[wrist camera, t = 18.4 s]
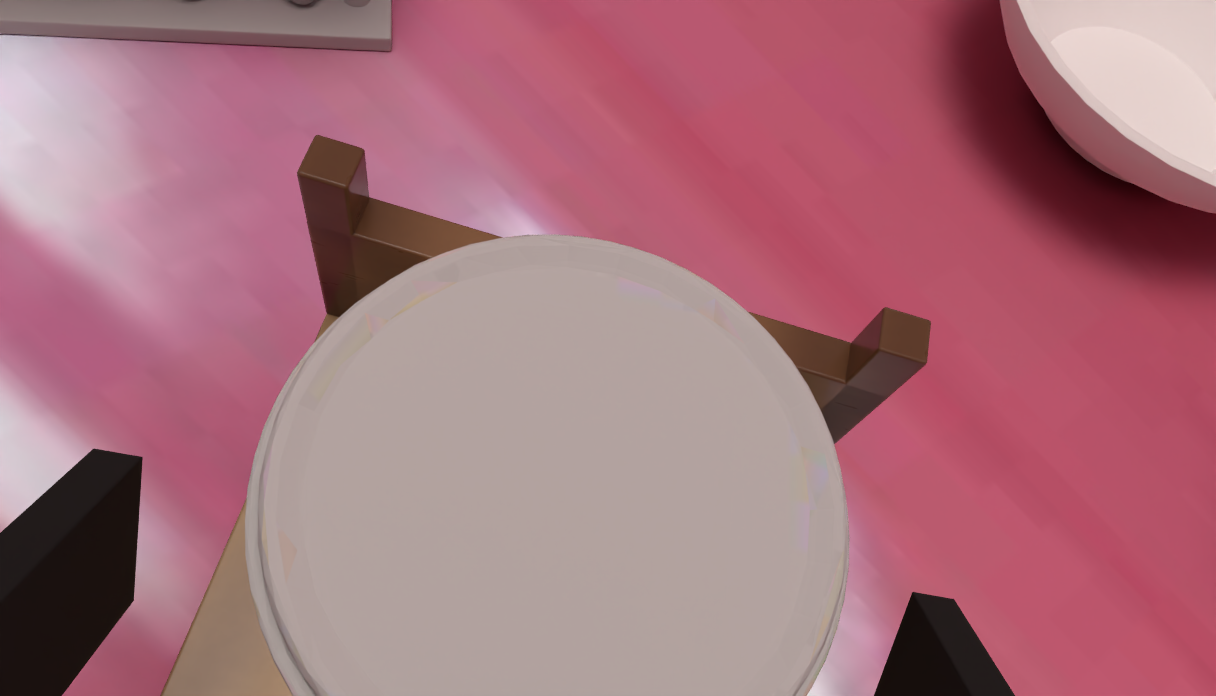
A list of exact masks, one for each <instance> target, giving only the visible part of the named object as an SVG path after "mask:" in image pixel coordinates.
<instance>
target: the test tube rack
mask: <svg viewBox="0 0 1216 696" xmlns="http://www.w3.org/2000/svg"><path fill="white" fill-rule="evenodd" d="M0 34H22V35H44V36H66V37H88V38H110V39H132V40H154V41H176V42H198V43H220V44H242V45H264V46H286V47H308V48H329V49H350V50H372V51H391V49H392V0H0Z"/></svg>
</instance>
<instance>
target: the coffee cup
mask: <svg viewBox="0 0 1216 696" xmlns="http://www.w3.org/2000/svg"><path fill="white" fill-rule="evenodd" d="M245 555H246V562H247V569H248V576H249V583H250V590H251V595H252V599H253V602H254V606H255V610H256V613H257V617H258V621H259V624H260V628H261V631H262V633H263V636H264V638H265V641H266V643H267V646H268V648H269V651H270V653H271V656H272V658H273V661H274V663H275V665H276V666H277V668H278V670H279V672H280V674H281V675H282V677H283V679H284V681H285V683H286V684H287V686H288V688H289V690H290V692H291V694H292V695H293V696H807V694H808V692H809V691H810V689H811V688H812V686H813V684H814V682H815V680H816V678H817V676H818V674H819V672H820V670H821V668H822V666H823V664H824V662H825V660H826V657H827V655H828V652H829V649H830V646H831V644H832V641H833V638H834V635H835V633H836V630H837V626H838V622H839V618H840V614H841V610H842V606H843V602H844V597H845V590H846V583H847V575H848V566H849V526H848V512H847V504H846V495H845V490H844V485H843V480H842V475H841V470H840V465H839V461H838V458H837V454H836V450H835V446H834V442H833V439H832V437H831V434H830V432H829V429H828V427H827V424H826V422H825V420H824V417H823V415H822V412H821V410H820V408H819V406H818V404H817V402H816V400H815V398H814V396H813V394H812V392H811V390H810V388H809V386H808V385H807V383H806V382H805V380H804V379H803V377H802V375H801V374H800V372H799V371H798V369H797V368H796V366H795V365H794V363H793V361H792V360H791V359H790V358H789V356H788V355H787V354H786V353H785V351H784V350H783V349H782V348H781V346H780V345H779V344H778V343H777V341H776V340H775V339H774V338H773V337H772V336H771V335H770V334H769V333H768V331H767V330H766V329H765V328H764V327H763V326H762V325H761V324H760V323H759V322H758V321H757V320H756V319H755V318H754V317H753V316H752V315H751V314H749V313H748V312H747V311H746V310H745V309H744V308H742V307H741V306H740V305H739V304H738V303H737V302H736V301H734V300H733V299H732V298H730V297H729V296H728V295H726V294H725V293H723V292H722V291H721V290H719V289H718V288H716V287H715V286H714V285H712V284H711V283H709V282H708V281H706V280H704V279H702V278H701V277H699V276H697V275H696V274H694V273H692V272H690V271H689V270H687V269H685V268H683V267H681V266H679V265H676V264H674V263H672V262H670V261H668V260H666V259H664V258H662V257H659V256H656V255H653V254H650V253H648V252H645V251H642V250H639V249H636V248H633V247H629V246H625V245H622V244H618V243H614V242H610V241H605V240H599V239H593V238H587V237H580V236H567V235H523V236H514V237H506V238H498V239H493V240H489V241H484V242H479V243H474V244H470V245H467V246H463V247H460V248H457V249H454V250H451V251H448V252H445V253H443V254H440V255H438V256H435V257H433V258H431V259H428V260H426V261H423V262H421V263H418V264H416V265H414V266H412V267H411V268H409V269H407V270H406V271H404V272H402V273H400V274H399V275H397V276H395V277H394V278H392V279H390V280H389V281H387V282H386V283H384V284H383V285H381V286H379V287H378V288H376V289H375V290H374V291H372V292H371V293H369V294H368V295H366V296H365V297H364V298H362V299H361V300H359V301H358V302H356V303H355V304H354V305H353V306H352V307H351V308H349V309H348V310H347V311H346V312H345V313H344V314H343V315H341V316H340V317H339V318H338V319H337V320H336V321H335V322H333V323H332V324H331V325H330V326H329V328H328V329H327V330H326V331H325V332H324V333H323V334H322V335H321V336H320V337H319V338H318V339H317V340H316V342H315V343H314V344H313V345H312V346H311V347H310V349H309V350H308V351H307V353H306V354H305V355H304V357H303V358H302V359H301V361H300V362H299V363H298V365H297V366H296V367H295V369H294V370H293V372H292V373H291V375H290V377H289V378H288V380H287V382H286V383H285V385H284V387H283V388H282V390H281V392H280V394H279V395H278V397H277V399H276V401H275V404H274V406H273V408H272V410H271V412H270V414H269V417H268V419H267V421H266V423H265V425H264V428H263V431H262V434H261V438H260V441H259V444H258V447H257V450H256V453H255V456H254V461H253V466H252V470H251V475H250V480H249V484H248V490H247V502H246V514H245Z"/></svg>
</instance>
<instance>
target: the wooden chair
mask: <svg viewBox="0 0 1216 696" xmlns="http://www.w3.org/2000/svg"><path fill="white" fill-rule="evenodd" d="M297 176H298V181H299V185H300V190H301V195H302V199H303V204H304V209H305V213H306V218H307V224H308V229H309V234H310V238H311V243H312V247H313V252H314V257H315V261H316V266H317V271H318V275H319V280H320V285H321V289H322V294H323V299H324V303H325V308H326V312H327V314H326V317H325V319H324V321H323V323H322V326H321V328H320V330H319V333H318V335H317V337H316V340H317V339H318V338H319V337H320V336H321V335H322V334H323V333H324V332H325V331H326V330H327V329H328V328H329V326H330V325H331V324H332V323H333V322H335V321H336V320H337V319H338V318H339V317H340V316H341V315H343V314H344V313H345V312H346V311H347V310H348V309H349V308H351V307H352V306H353V305H354V304H355V303H356V302H358V301H359V300H361V299H362V298H364V297H365V296H366V295H368V294H369V293H371V292H372V291H374V290H375V289H376V288H378V287H379V286H381V285H383V284H384V283H386V282H387V281H389V280H390V279H392V278H394V277H395V276H397V275H399V274H400V273H402V272H404V271H406V270H407V269H409V268H411V267H412V266H414V265H416V264H418V263H421V262H423V261H426V260H428V259H431V258H433V257H435V256H438V255H440V254H443V253H445V252H448V251H451V250H454V249H457V248H460V247H463V246H467V245H470V244H474V243H479V242H484V241H489V240H493V239H498V238H502V237H499V236H496V235H492V234H489V233H486V232H482V231H479V230H476V229H472V228H469V227H466V226H463V225H459V224H456V223H453V222H449V221H446V220H443V219H439V218H436V217H433V216H429V215H426V214H423V213H420V212H416V211H413V210H410V209H406V208H403V207H400V206H396V205H393V204H390V203H386V202H383V201H380V200H376V199H373V198H370V197H369V191H368V181H367V171H366V161H365V151H364V149H362V148H360V147H356V146H353V145H350V144H346V143H343V142H340V141H336V140H333V139H330V138H327V137H323V136H320V135H316V136H315V137H314V139H313V141H312V143H311V145H310V147H309V149H308V151H307V153H306V155H305V157H304V159H303V161H302V163H301V165H300V167H299V170H298V172H297ZM748 313H749V314H751V315H752V316H753V317H754V318H755V319H756V320H757V321H758V322H759V323H760V324H761V325H762V326H763V327H764V328H765V329H766V330H767V331H768V333H769V334H770V335H771V336H772V337H773V338H774V339H775V340H776V341H777V343H778V344H779V345H780V346H781V348H782V349H783V350H784V351H785V353H786V354H787V355H788V356H789V358H790V359H791V360H792V361H793V363H794V365H795V366H796V368H797V369H798V371H799V372H800V374H801V375H802V377H803V379H804V380H805V382H806V383H807V385H808V386H809V388H810V390H811V392H812V394H813V396H814V398H815V400H816V402H817V404H818V406H819V408H820V410H821V412H822V415H823V417H824V420H825V422H826V424H827V427H828V429H829V432H830V434H831V437H832V439H833V442H834V444H835V443H836V442H837V441H839V440H840V439H841V438H842V437H843V436H844V435H846V434H847V433H848V432H849V431H850V430H851V429H852V428H854V427H855V426H856V425H857V424H858V423H859V422H860V421H862V420H863V419H864V418H865V417H866V416H867V415H868V414H870V413H871V412H872V411H873V410H874V409H875V408H876V407H878V406H879V405H880V404H881V403H882V402H883V401H884V400H886V399H887V398H888V397H889V396H890V395H891V394H892V393H894V392H895V391H896V390H897V389H898V388H899V387H900V386H902V385H903V384H904V383H905V382H906V381H907V380H908V379H910V378H911V377H912V376H913V375H914V374H915V373H917V372H918V371H919V370H920V369H921V368H922V367H923V366H925V365H926V363H927V356H928V346H929V336H930V326H931V322H930V321H929V320H926V319H923V318H920V317H916V316H913V315H910V314H907V313H903V312H900V311H897V310H893V309H890V308H887V307H885V308H883V309H882V310H881V311H880V312H879V314H878V315H877V316H876V317H875V318H874V319H873V320H872V321H871V322H870V323H869V324H868V325H867V326H866V328H865V329H864V330H863V331H862V332H861V333H860V334H859V335H858V336H857V337H856V338H855V339H854V340H853V342H852V343H850V342H847V341H843V340H840V339H837V338H833V337H830V336H827V335H823V334H820V333H817V332H813V331H810V330H807V329H804V328H800V327H797V326H794V325H790V324H787V323H784V322H780V321H777V320H774V319H770V318H767V317H764V316H761V315H757V314H754V313H751V312H748ZM316 340H315V342H316ZM315 342H314V343H315ZM246 502H247V498H246V500H245V503H244V505H243V507H242V509H241V512H240V514H239V516H238V519H237V521H236V523H235V526H234V528H233V530H232V532H231V535H230V537H229V539H228V542H227V544H226V546H225V548H224V551H223V553H222V555H221V558H220V560H219V562H218V565H217V567H216V569H215V571H214V574H213V576H212V578H211V581H210V583H209V585H208V588H207V590H206V592H205V594H204V597H203V599H202V601H201V604H200V606H199V608H198V610H197V613H196V615H195V617H194V620H193V622H192V624H191V627H190V629H189V631H188V633H187V636H186V638H185V640H184V643H183V645H182V647H181V650H180V652H179V654H178V656H177V659H176V661H175V663H174V666H173V668H172V670H171V672H170V675H169V677H168V679H167V682H166V684H165V686H164V689H163V691H162V693H161V695H160V696H293V695H292V694H291V692H290V690H289V688H288V686H287V684H286V683H285V681H284V679H283V677H282V675H281V674H280V672H279V670H278V668H277V666H276V665H275V663H274V661H273V658H272V656H271V653H270V651H269V648H268V646H267V643H266V641H265V638H264V636H263V633H262V631H261V628H260V624H259V621H258V617H257V613H256V610H255V606H254V602H253V599H252V595H251V590H250V583H249V576H248V569H247V562H246V555H245V514H246Z"/></svg>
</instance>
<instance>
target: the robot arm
mask: <svg viewBox="0 0 1216 696" xmlns="http://www.w3.org/2000/svg"><path fill="white" fill-rule="evenodd" d="M141 473H142V457H139V456H133V455H127V454H121V453H116V452H110V451H104V450H99V449H93V450H92V451H91V452H89V453H88V454H87V455H86V456H85V457H84V458H83V459H82V460H81V461H79V462H78V463H77V464H76V465H75V466H74V467H73V468H72V469H71V470H70V471H68V472H67V473H66V474H65V475H64V476H63V477H62V478H61V479H60V480H58V481H57V482H56V483H55V484H54V485H53V486H52V487H51V488H50V489H48V490H47V491H46V492H45V493H44V494H43V495H42V496H41V497H40V498H39V499H37V500H36V501H35V502H34V503H33V504H32V505H31V506H30V507H29V508H27V509H26V510H25V511H24V512H23V513H22V514H21V515H20V516H19V517H17V518H16V519H15V520H14V521H13V522H12V523H11V524H10V525H9V526H8V527H6V528H5V529H4V530H3V531H2V532H1V533H0V696H62V695H63V693H64V692H65V691H66V689H67V688H68V687H69V685H70V684H71V683H72V681H73V680H74V679H75V677H76V676H77V675H78V673H79V672H80V671H81V669H82V668H83V667H84V666H85V664H86V663H87V662H88V660H89V659H90V658H91V656H92V655H93V654H94V652H95V651H96V650H97V648H98V647H99V646H100V644H101V643H102V642H103V640H104V639H105V638H106V636H107V635H108V634H109V632H110V631H111V630H112V628H113V627H114V626H115V624H116V623H117V622H118V621H119V619H120V618H121V617H122V615H123V614H124V613H125V611H126V610H127V609H128V607H129V606H130V605H131V603H132V602H133V601H134V587H135V570H136V554H137V538H138V522H139V506H140V490H141ZM874 696H1015V695H1014V693H1013V692H1012V690H1011V689H1010V687H1009V686H1008V684H1007V682H1006V681H1005V679H1004V678H1003V676H1002V674H1001V673H1000V671H999V670H998V668H997V667H996V665H995V663H994V662H993V660H992V659H991V657H990V656H989V654H988V652H987V651H986V649H985V648H984V646H983V644H982V643H981V641H980V640H979V638H978V637H977V635H976V633H975V632H974V630H973V629H972V627H971V625H970V624H969V622H968V621H967V619H966V618H965V616H964V614H963V613H962V611H961V610H960V608H959V607H958V605H957V603H956V602H955V600H954V599H950V598H944V597H938V596H932V595H927V594H921V593H915V592H912V595H911V597H910V600H909V603H908V606H907V608H906V611H905V614H904V616H903V619H902V622H901V624H900V627H899V630H898V632H897V635H896V638H895V640H894V643H893V646H892V649H891V651H890V654H889V657H888V659H887V662H886V665H885V667H884V670H883V673H882V675H881V678H880V681H879V683H878V686H877V689H876V692H875V694H874Z"/></svg>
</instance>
